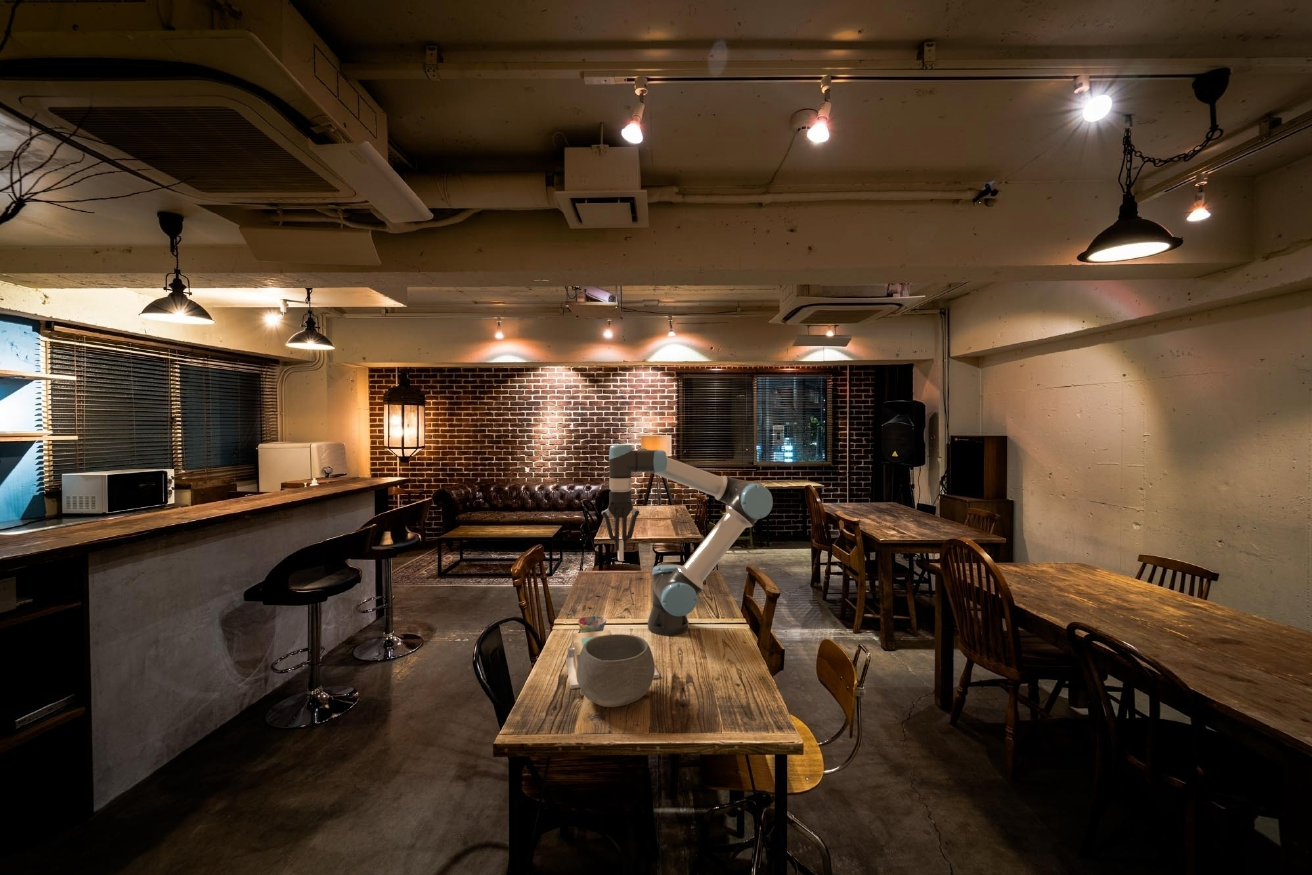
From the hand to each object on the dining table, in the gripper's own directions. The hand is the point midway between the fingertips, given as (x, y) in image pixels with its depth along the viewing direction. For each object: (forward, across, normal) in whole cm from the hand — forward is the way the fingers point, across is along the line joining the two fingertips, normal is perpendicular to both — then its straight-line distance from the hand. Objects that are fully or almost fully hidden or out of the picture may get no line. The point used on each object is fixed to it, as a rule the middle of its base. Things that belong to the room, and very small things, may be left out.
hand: (620, 559), depth 176 cm
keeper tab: (+20, +11, +20) cm, 30 cm away
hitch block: (+29, +6, +16) cm, 34 cm away
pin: (+27, +11, +13) cm, 32 cm away
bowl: (+30, +8, +34) cm, 46 cm away
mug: (+30, +10, +1) cm, 31 cm away
